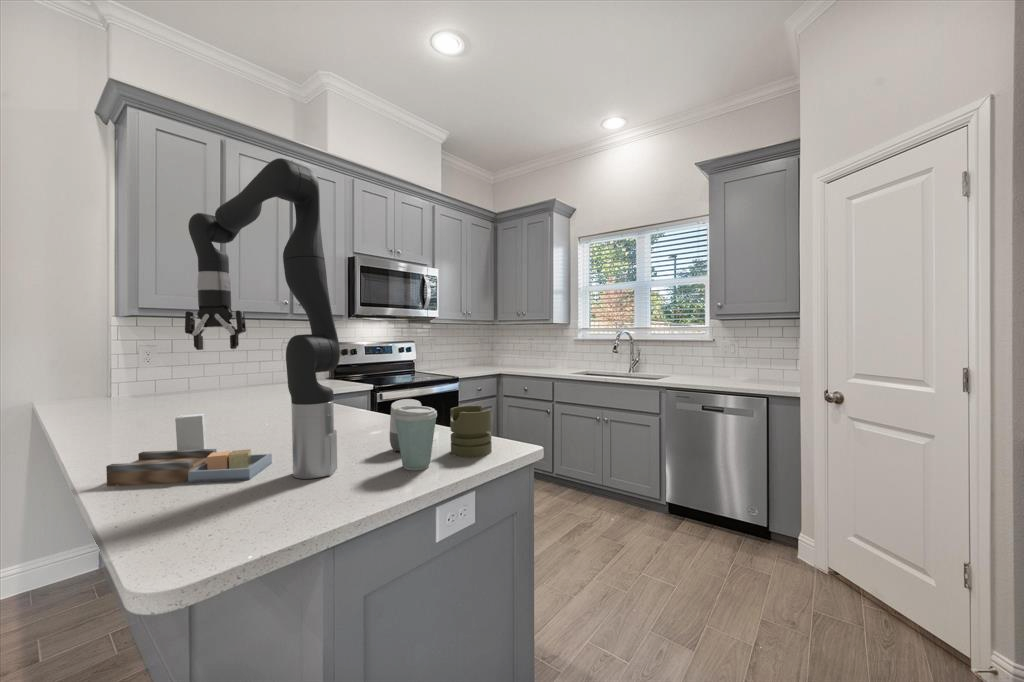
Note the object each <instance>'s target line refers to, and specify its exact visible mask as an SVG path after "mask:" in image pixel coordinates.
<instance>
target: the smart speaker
mask: <svg viewBox="0 0 1024 682" xmlns="http://www.w3.org/2000/svg"><path fill="white" fill-rule="evenodd" d="M399 406H423V405H422V403H421V401H419V400H417V399H412V398H405V399H399V400H395V401H394V402H392V403H391V405H390V419H389V420H390V421H389V443H390V447H391V449H392V450H393V451H395V452H396V453H400V447H399V441H398V434H397V428H396V422H395V418H394V414H395V412H396V408H397V407H399Z"/></svg>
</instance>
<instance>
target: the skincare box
mask: <svg viewBox="0 0 1024 682" xmlns="http://www.w3.org/2000/svg"><path fill="white" fill-rule="evenodd" d="M205 415H206V414H205V413H195V414H194V413H193V414H192V413H191V414H181V415H177V416H176V418H175V421H174V423H175V436H176V450H198V449H208V448H207V435H206V433H207V432H206V431H207V430H206V416H205Z"/></svg>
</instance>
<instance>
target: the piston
mask: <svg viewBox="0 0 1024 682" xmlns="http://www.w3.org/2000/svg"><path fill="white" fill-rule="evenodd" d="M449 413H450V418H449V419H450V424H449V425H450V431H451V432H452V433H451V434H450V454H451V455H452V456H454V457H458V458H468V459H469V458H471V459H472V458H480V457H486V456H488V455H490V454H491V453H492V442H493V441H492V432H490V431H491V430H492V409H491V408H489V409H487V410H483V407H482V405H461V406H455V407H451V408H450V411H449Z"/></svg>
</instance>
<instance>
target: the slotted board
mask: <svg viewBox="0 0 1024 682" xmlns="http://www.w3.org/2000/svg"><path fill="white" fill-rule="evenodd" d="M213 452H217V448H207V449H198V450H177V449H176V450H158V451H157V450H155V451H141V452H139V453H138V455H137V456H138V459H137V460H134V461H132V462H128V463H127V462H126V463H125V462H124V463H123V462H122V463H111V464H108V465H106V466H105V467H106V468H105V469H106V487H114V486H115V487H117V486H116V485H121V486H134V485H135V486H136V485H137V486H138V485H156V484H157V485H159V484H160V485H161V484H177V483H178V484H179V483H181V484H182V483H188V472H189V471H191V470H192V469H194V468H196V467H198V466H200V465H202V464H204V463H206V462H207V457H208V456H209V455H210V454H211V453H213Z"/></svg>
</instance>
